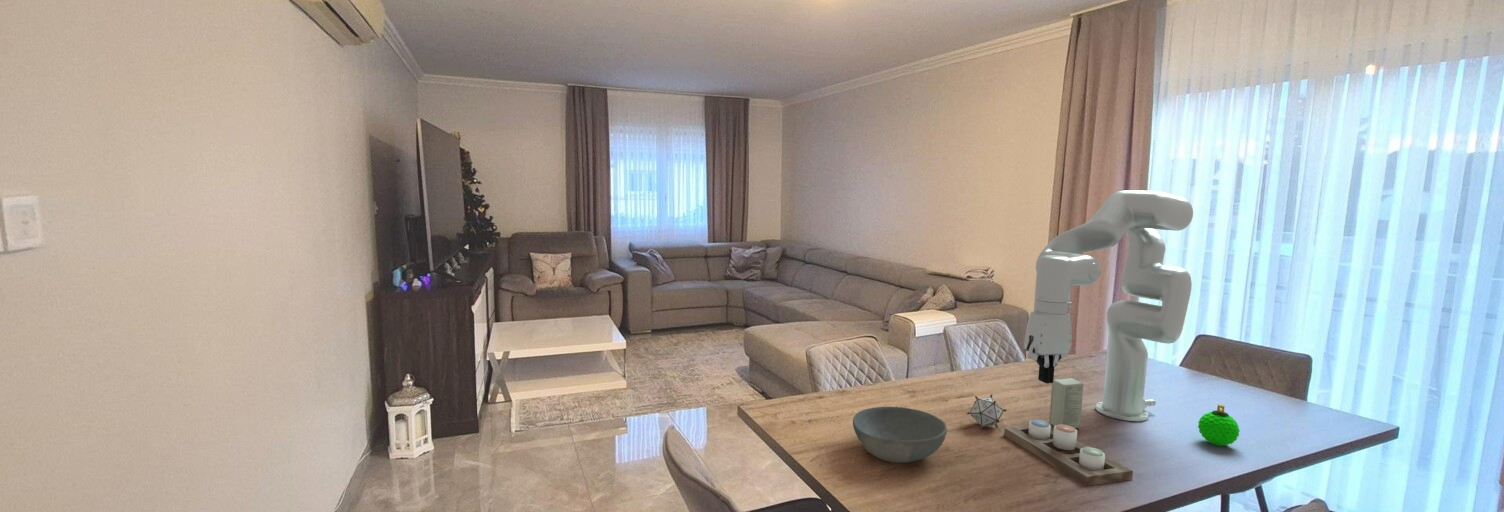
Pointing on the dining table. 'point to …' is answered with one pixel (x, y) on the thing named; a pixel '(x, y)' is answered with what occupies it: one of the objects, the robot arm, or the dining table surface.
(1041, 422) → the small jar
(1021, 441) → the rack with square compartments
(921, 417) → the bowl
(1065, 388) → the skincare box
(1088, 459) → the white round cylinder
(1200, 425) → the ornament
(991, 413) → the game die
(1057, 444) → the small jar
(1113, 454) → the dining table surface
